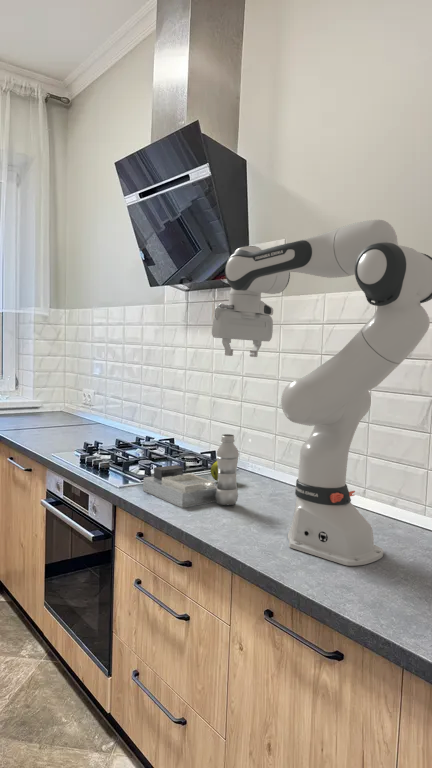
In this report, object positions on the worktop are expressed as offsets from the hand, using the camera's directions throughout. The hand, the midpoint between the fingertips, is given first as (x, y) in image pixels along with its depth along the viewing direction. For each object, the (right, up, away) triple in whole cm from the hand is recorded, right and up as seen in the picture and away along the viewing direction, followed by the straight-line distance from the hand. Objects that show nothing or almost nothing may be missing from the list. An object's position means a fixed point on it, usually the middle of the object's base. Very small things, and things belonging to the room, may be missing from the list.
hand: (241, 356), depth 149 cm
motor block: (-19, -41, +11) cm, 46 cm away
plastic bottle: (-4, -42, +3) cm, 43 cm away
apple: (-5, -41, +29) cm, 50 cm away
